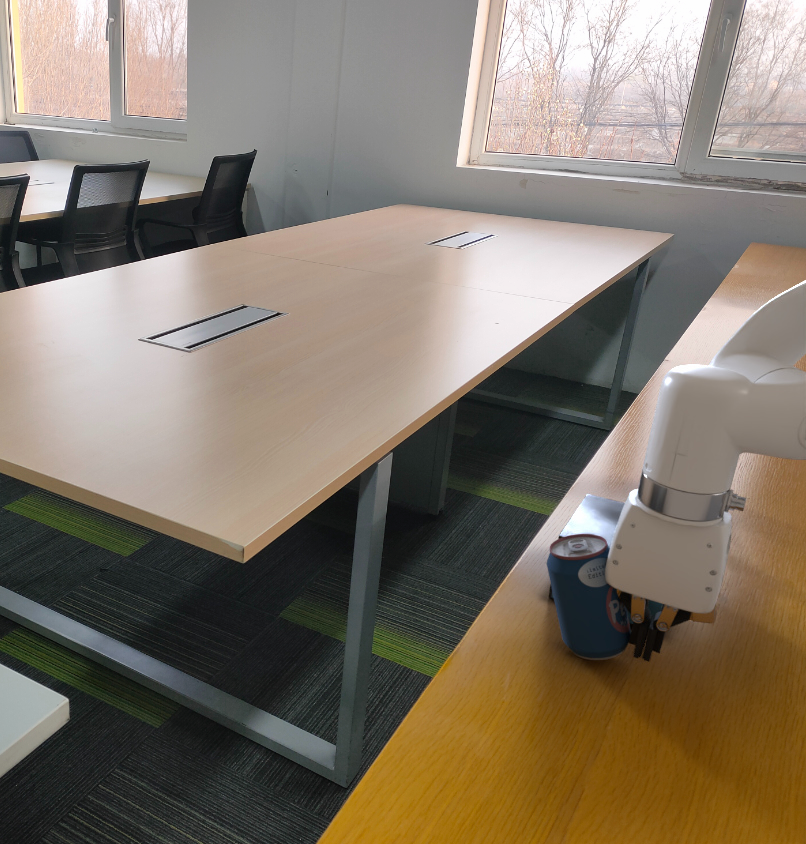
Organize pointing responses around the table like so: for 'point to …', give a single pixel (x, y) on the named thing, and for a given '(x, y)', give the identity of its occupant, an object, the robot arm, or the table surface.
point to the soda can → (587, 598)
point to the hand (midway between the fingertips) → (643, 652)
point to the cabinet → (594, 519)
